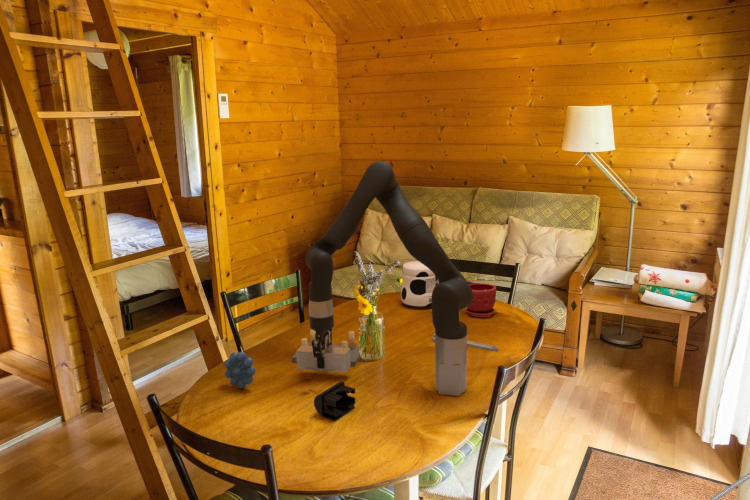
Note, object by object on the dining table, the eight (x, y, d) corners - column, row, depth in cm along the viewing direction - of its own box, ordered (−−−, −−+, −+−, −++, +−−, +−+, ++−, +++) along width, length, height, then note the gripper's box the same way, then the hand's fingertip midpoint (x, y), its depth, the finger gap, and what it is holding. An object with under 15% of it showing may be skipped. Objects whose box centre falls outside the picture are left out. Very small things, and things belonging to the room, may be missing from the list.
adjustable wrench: (499, 351, 193) (499, 346, 192) (491, 357, 188) (491, 352, 187) (436, 336, 207) (436, 331, 207) (428, 341, 202) (428, 337, 201)
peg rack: (355, 366, 181) (354, 344, 180) (292, 361, 186) (291, 340, 184) (364, 350, 194) (364, 330, 192) (305, 346, 198) (304, 327, 197)
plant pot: (500, 312, 232) (500, 284, 229) (488, 321, 221) (489, 292, 218) (470, 307, 238) (471, 280, 236) (458, 316, 228) (458, 288, 225)
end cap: (336, 400, 159) (336, 378, 157) (356, 407, 155) (356, 384, 153) (313, 415, 151) (312, 392, 149) (334, 422, 147) (333, 399, 145)
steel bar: (346, 372, 170) (345, 354, 168) (297, 369, 173) (296, 351, 172) (350, 365, 174) (350, 347, 173) (302, 362, 178) (301, 345, 176)
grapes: (265, 386, 168) (263, 349, 166) (250, 395, 163) (248, 357, 160) (235, 378, 174) (233, 343, 171) (220, 387, 168) (217, 350, 165)
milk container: (406, 297, 255) (406, 259, 251) (443, 300, 249) (443, 261, 245) (396, 308, 239) (395, 268, 235) (435, 312, 233) (435, 270, 229)
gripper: (326, 321, 162) (328, 374, 166) (339, 306, 176) (341, 356, 180) (301, 319, 164) (304, 373, 167) (316, 305, 178) (319, 354, 181)
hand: (323, 364), depth 173 cm, fingers closed on steel bar, 5 cm apart
